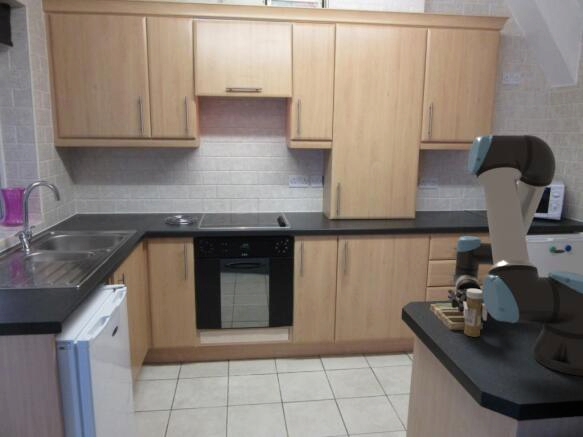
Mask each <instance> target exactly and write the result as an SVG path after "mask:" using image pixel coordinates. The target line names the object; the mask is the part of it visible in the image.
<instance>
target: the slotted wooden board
mask: <svg viewBox="0 0 583 437" xmlns="http://www.w3.org/2000/svg"><path fill="white" fill-rule="evenodd" d="M430 311H431V312H432V313H433V314H434V315H435V316H436V317H437V318H438V319H439V320H440V321H441V322H442V323H443V324H444V325H445V326H446V327H447V329H449V330H450V331H454V330H455V331H457V330H459V331H460V330H462V331H464V329H465V318H464V314H463V312H460V311H458V307H456V308H453V307H452V305H451V302H449V303H448V302H447V303H444V302H443V303H441V302H439V303H438V302H437V303H431V304H430ZM483 324H484V323H483V322H482V321H481V325H480V330H483V328H484V325H483Z"/></svg>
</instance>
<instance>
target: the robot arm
mask: <svg viewBox="0 0 583 437" xmlns="http://www.w3.org/2000/svg"><path fill="white" fill-rule="evenodd" d="M467 160H468V161H467V171H468V174H469V175H471V176H476V182H477V184H478V185H479V186H481V187H483V193H484V199H485V201H484V202H485V208H486V216H487V223H488V224H487V225H488V230H489V237H490V238H489V240H490V242H482V240H481V238H479V237H477V236H472V235H465V236H460V237H459V238H458V240H457V244H456V258H455V260H456V261H455V267H454V268H455V269H454V274H453V282H454V285H455V291H454V290H452V289H448V291H447V292H448V293H447V298H448V299H449V300H450V303H451V305H452V307H453V308H456V307H458V311H460V312H463V314H464V318H467V315H468V308H467V304H466V302H467V296H466V294H467V290H468V289H479V290H482V295H483V299H482V313H481V318H482V319H483V321H487V318H488V316H489V315H490V316H491V317H492V318H493V319H494V320H496V321H498V322H507V323H511V324H515V323H527V324H528V323H530V324H531V323H532V324H543V326H542V329H541V331H540V333H539V335H538V337H537V339H536V341H535V343H534V344H533V347H532V357H533V358H534V360H535V361H536V362H538V364H541V365H542V366H544V367H546V368H548V369H551V370H553V371H556V372H560V373H562V374H567V375H572V376H581V377H583V274H580V273H575V272H571V271H566V270H559V269H554V270H553V269H552V270H550V271H549V273H548V274H547V276H546V277H545V276H544V277H543V276H540V275H539V271H538V267H537V266H536V265H534V264H533V263H531V262H530V258H529V257H530V256H529V251H528V246H527V245H528V244H527V239H526V238H527V234H528V232H529V230H530V227H531V224H532V222H533V220H534V217H535V214H536V211H537V210H538V207H539V204H540V202H541V199H542V198H543V194H544V191H545V190H546V188H547V187H549V186H550V185H551V184H552V182H553V179H554V177H555V173H556V167H557V166H556V157H555V154H554V151H553V150H552V148H551V146H550V145H549V144H548V143H547V142H546V141H545V140H543V139H542V138H540V137H538V136H536V135H531V134H530V135H529V134H524V135H522V134H521V135H517V134H515V135H514V134H513V135H512V134H511V135H506V134H505V135H498V134H497V135H495V134H486V135H485V134H483V135H479V136H477V137H475V139H474V140H473V142H472V145H471V147H470V150H469V153H468V159H467ZM480 265H483V266H486V265H487V266H491V267H490V268H489V269H488V271H487V273H488V275H486V276H485V277H484V278H483V279H482V284H481V285H480V283H479V281H478V280H479V278H478V277H479V268H480ZM481 286H482V288H481ZM457 298H458V300H457Z"/></svg>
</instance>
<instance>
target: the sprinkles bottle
mask: <svg viewBox="0 0 583 437" xmlns="http://www.w3.org/2000/svg"><path fill="white" fill-rule="evenodd" d="M466 296H467V302H466V304H467V308H468V315H467V318H465V329H464V330H463V333H464V334H465V335H466V336H469V337H473V338H474V337H475V338H477V337H479V336H480V335H481V329H480V325H481V322H482V314H481V313H482V299H483V295H482V289H481V290H479V289H468V290H467V294H466Z"/></svg>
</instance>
